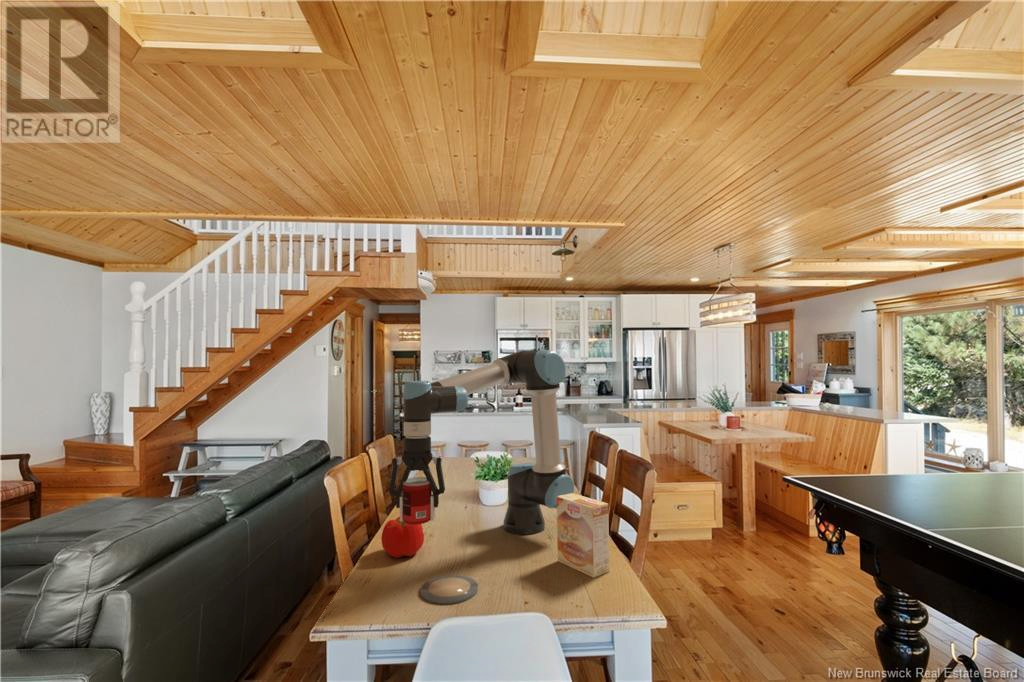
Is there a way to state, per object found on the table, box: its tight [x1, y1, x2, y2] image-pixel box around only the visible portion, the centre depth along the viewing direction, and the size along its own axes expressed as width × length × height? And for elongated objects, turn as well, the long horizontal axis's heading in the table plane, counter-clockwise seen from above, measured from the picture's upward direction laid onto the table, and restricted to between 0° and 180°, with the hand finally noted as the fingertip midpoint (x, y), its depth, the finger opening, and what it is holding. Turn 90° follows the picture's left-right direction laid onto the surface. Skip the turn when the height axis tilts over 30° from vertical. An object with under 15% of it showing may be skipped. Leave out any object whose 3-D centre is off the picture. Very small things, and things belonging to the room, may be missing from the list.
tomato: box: [380, 515, 425, 559], centre depth 153 cm, size 14×13×10 cm
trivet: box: [420, 574, 479, 605], centre depth 127 cm, size 15×15×1 cm
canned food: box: [402, 476, 433, 525], centre depth 134 cm, size 8×8×11 cm
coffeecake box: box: [556, 493, 610, 579], centre depth 142 cm, size 15×7×20 cm, turn 37°
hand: (417, 519), depth 133 cm, fingers closed on canned food, 8 cm apart
